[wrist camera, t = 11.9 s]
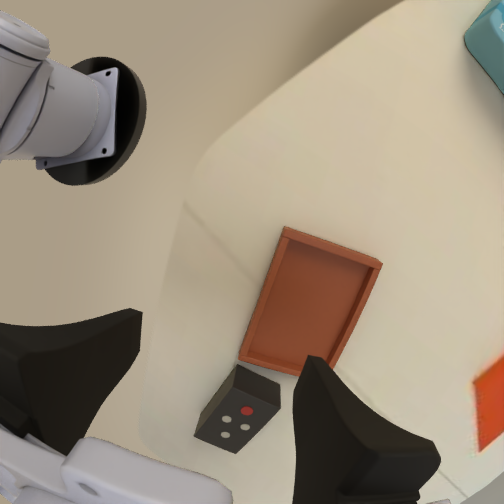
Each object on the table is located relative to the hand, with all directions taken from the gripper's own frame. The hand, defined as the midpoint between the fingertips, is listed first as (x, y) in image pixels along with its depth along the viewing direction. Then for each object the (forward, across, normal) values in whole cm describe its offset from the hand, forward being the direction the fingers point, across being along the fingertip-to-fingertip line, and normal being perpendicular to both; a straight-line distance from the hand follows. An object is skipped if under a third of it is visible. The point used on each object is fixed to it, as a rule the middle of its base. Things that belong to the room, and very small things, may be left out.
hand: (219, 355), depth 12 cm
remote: (+9, -2, +10) cm, 14 cm away
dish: (+9, -5, +1) cm, 10 cm away
